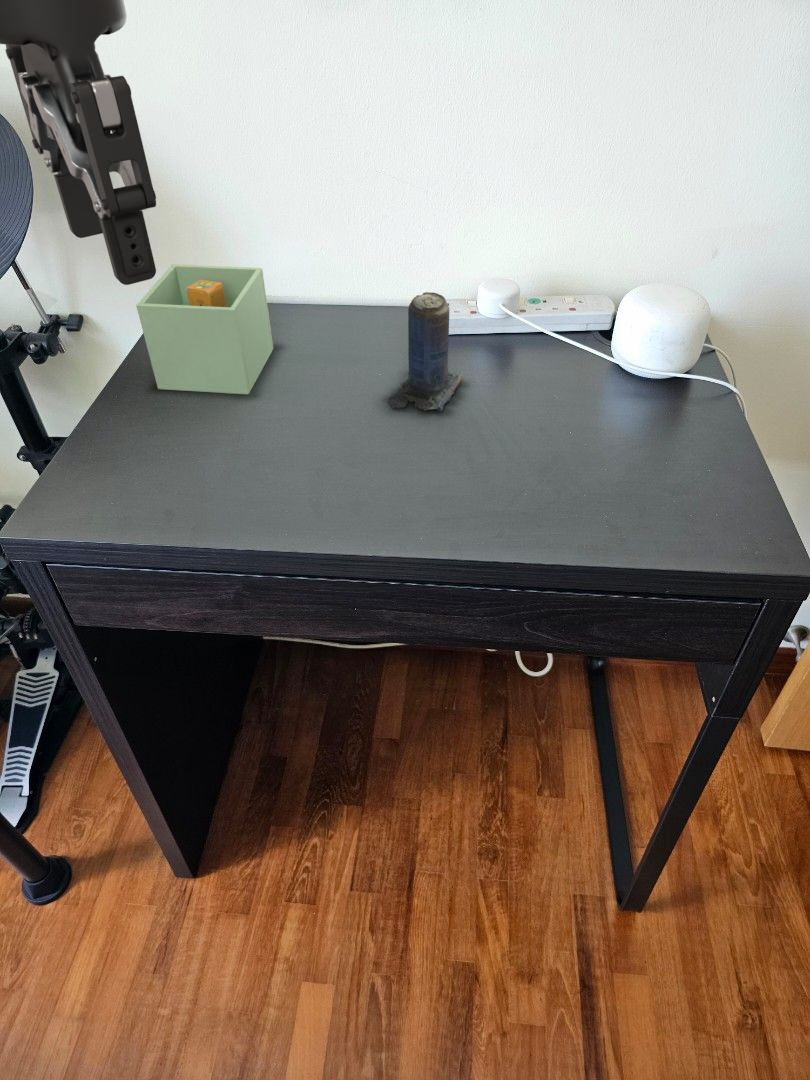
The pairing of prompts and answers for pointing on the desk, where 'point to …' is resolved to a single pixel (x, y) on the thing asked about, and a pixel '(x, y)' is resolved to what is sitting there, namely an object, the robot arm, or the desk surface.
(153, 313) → the trash bin
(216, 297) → the supplement box
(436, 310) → the beverage can
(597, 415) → the desk surface
